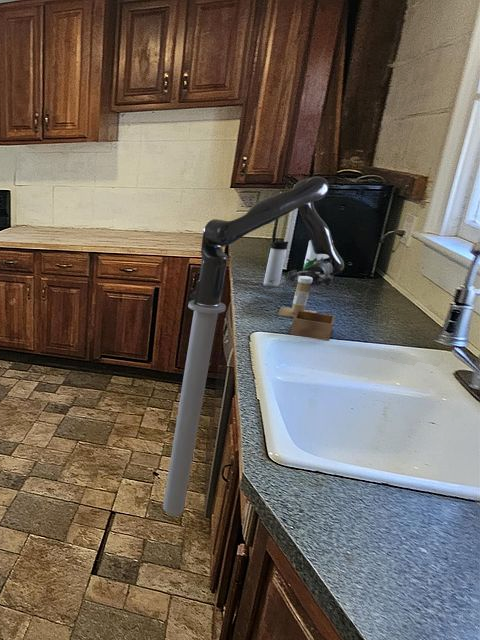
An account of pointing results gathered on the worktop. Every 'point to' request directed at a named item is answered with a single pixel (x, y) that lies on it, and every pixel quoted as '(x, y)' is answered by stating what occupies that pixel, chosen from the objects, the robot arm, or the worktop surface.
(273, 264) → the travel mug
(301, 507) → the worktop surface
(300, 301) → the sprinkles bottle
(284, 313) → the cork mat
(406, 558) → the worktop surface
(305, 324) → the cardboard box
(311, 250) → the milk carton
